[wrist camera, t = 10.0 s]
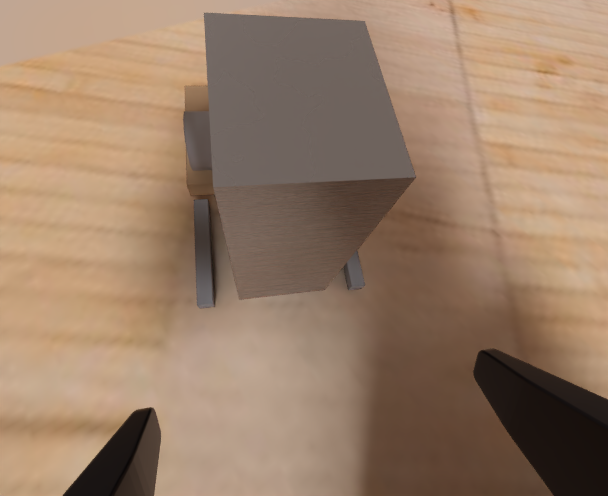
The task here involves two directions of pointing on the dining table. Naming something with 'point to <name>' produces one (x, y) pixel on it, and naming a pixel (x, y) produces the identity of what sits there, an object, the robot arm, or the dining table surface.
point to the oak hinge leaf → (203, 185)
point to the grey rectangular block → (298, 147)
